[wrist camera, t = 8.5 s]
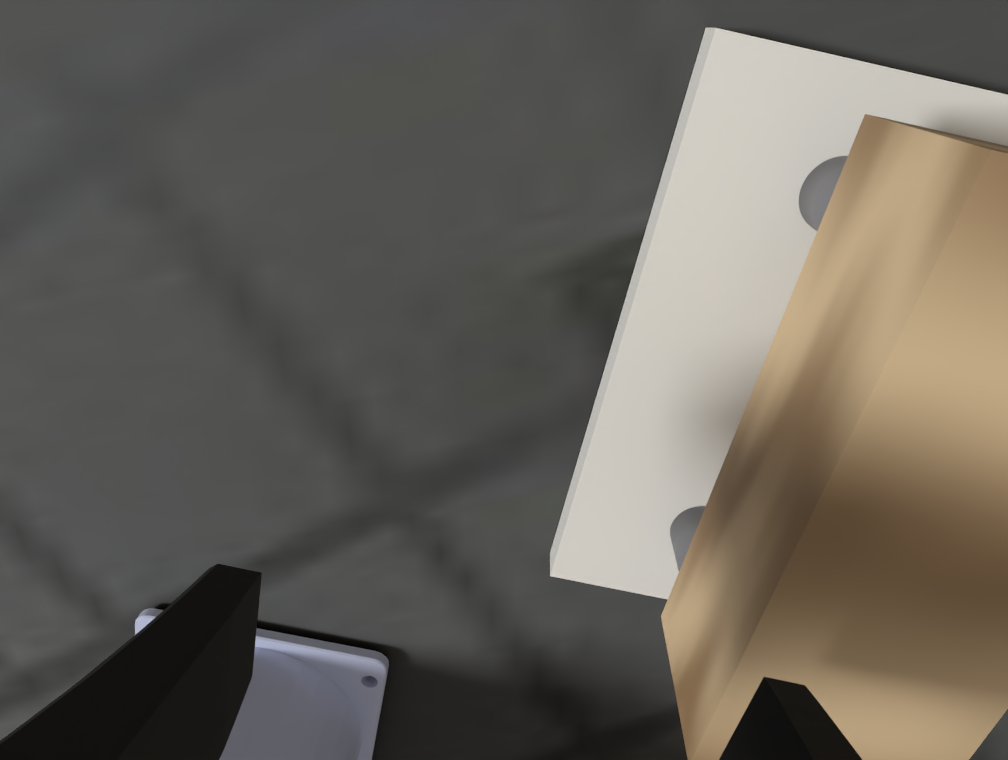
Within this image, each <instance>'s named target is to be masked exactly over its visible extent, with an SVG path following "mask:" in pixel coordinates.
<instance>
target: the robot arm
mask: <svg viewBox="0 0 1008 760" xmlns="http://www.w3.org/2000/svg"><path fill="white" fill-rule="evenodd" d="M261 574H262V573H260V572H255V571H250V570H245V569H241V568H236V567H231V566H226V565H221V564H217V565H215V566H213V567H211V568H209V569H208V570H207V571H206V572H205V573H204V574H203V575H202V576H201V577H200V578H199V579H197V580H196V581H195V582H194V583H193V584H192V585H191V586H190V587H189V588H188V589H187V590H186V591H184V592H183V593H182V594H181V595H180V596H179V597H178V598H177V599H176V600H175V601H173V602H172V603H171V604H170V605H169V606H168V607H167V608H166V609H164V610H160V609H153V608H149V609H145V610H143V611H142V612H141V613H140V615H139V616H138V618H137V619H136V622H135V636H133V637H132V638H131V639H130V640H129V641H127V642H126V643H125V644H124V645H123V646H121V647H120V648H119V649H118V650H117V651H115V652H114V653H113V654H112V655H110V656H109V657H108V658H107V659H106V660H104V661H103V662H102V663H101V664H100V665H98V666H97V667H96V668H95V669H93V670H92V671H91V672H90V673H89V674H87V675H86V676H85V677H84V678H82V679H81V680H80V681H79V682H77V683H76V684H75V685H74V686H72V687H71V688H70V689H69V690H67V691H66V692H65V693H63V694H62V695H61V696H59V697H58V698H57V699H55V700H54V701H53V702H51V703H50V704H49V705H47V706H46V707H45V708H43V709H42V710H41V711H39V712H38V713H37V714H35V715H34V716H33V717H31V718H30V719H29V720H27V721H26V722H25V723H24V724H22V725H21V726H20V727H18V728H17V729H16V730H14V731H13V732H12V733H10V734H9V735H8V736H6V737H5V738H4V739H2V740H1V741H0V760H372V756H373V750H374V745H375V739H376V734H377V728H378V723H379V718H380V712H381V707H382V701H383V696H384V690H385V685H386V679H387V674H388V668H389V660H388V659H387V657H386V656H385V655H383V654H382V653H380V652H377V651H373V650H368V649H363V648H358V647H353V646H347V645H342V644H337V643H332V642H327V641H321V640H316V639H311V638H306V637H301V636H295V635H290V634H285V633H280V632H275V631H269V630H264V629H259V628H257V618H258V607H259V596H260V585H261ZM369 676H372V677H369ZM719 760H862V759H861V757H860V756H859V755H858V753H857V752H856V751H855V749H854V748H853V747H852V745H851V744H850V743H849V741H848V740H847V739H846V737H845V736H844V735H843V733H842V732H841V731H840V729H839V728H838V727H837V725H836V724H835V723H834V721H833V720H832V719H831V718H830V716H829V715H828V714H827V712H826V711H825V710H824V708H823V707H822V706H821V705H820V703H819V702H818V701H817V699H816V698H815V697H814V696H813V694H812V693H811V692H810V691H809V689H808V688H807V687H806V686H805V685H802V684H797V683H792V682H788V681H783V680H778V679H773V678H768V677H763V679H762V681H761V683H760V685H759V687H758V688H757V690H756V692H755V694H754V696H753V698H752V700H751V701H750V703H749V705H748V707H747V709H746V711H745V712H744V714H743V716H742V718H741V720H740V722H739V724H738V725H737V727H736V729H735V731H734V733H733V735H732V737H731V738H730V740H729V742H728V744H727V746H726V748H725V749H724V751H723V753H722V755H721V757H720V759H719Z"/></svg>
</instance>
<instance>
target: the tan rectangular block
mask: <svg viewBox="0 0 1008 760" xmlns="http://www.w3.org/2000/svg"><path fill="white" fill-rule="evenodd" d="M661 619H662V624H663V630H664V635H665V640H666V646H667V651H668V656H669V662H670V667H671V673H672V678H673V683H674V689H675V694H676V699H677V705H678V710H679V715H680V721H681V726H682V732H683V737H684V742H685V748H686V753H687V758H688V760H719V759H720V757H721V755H722V753H723V751H724V749H725V748H726V746H727V744H728V742H729V740H730V738H731V737H732V735H733V733H734V731H735V729H736V727H737V725H738V724H739V722H740V720H741V718H742V716H743V714H744V712H745V711H746V709H747V707H748V705H749V703H750V701H751V700H752V698H753V696H754V694H755V692H756V690H757V688H758V687H759V685H760V683H761V681H762V679H763V677H768V678H773V679H778V680H783V681H788V682H792V683H797V684H802V685H805V686H806V687H807V688H808V689H809V691H810V692H811V693H812V694H813V696H814V697H815V698H816V699H817V701H818V702H819V703H820V705H821V706H822V707H823V708H824V710H825V711H826V712H827V714H828V715H829V716H830V718H831V719H832V720H833V721H834V723H835V724H836V725H837V727H838V728H839V729H840V731H841V732H842V733H843V735H844V736H845V737H846V739H847V740H848V741H849V743H850V744H851V745H852V747H853V748H854V749H855V751H856V752H857V753H858V755H859V756H860V757H861V759H862V760H969V759H970V758H971V756H972V755H973V754H974V752H975V751H976V750H977V748H978V747H979V746H980V744H981V743H982V742H983V740H984V739H985V738H986V736H987V735H988V734H989V733H990V731H991V730H992V729H993V727H994V726H995V725H996V723H997V722H998V721H999V719H1000V718H1001V717H1002V715H1003V714H1004V713H1005V712H1006V710H1007V709H1008V146H1005V145H1001V144H996V143H992V142H987V141H983V140H979V139H974V138H970V137H965V136H961V135H956V134H952V133H948V132H943V131H939V130H934V129H930V128H925V127H921V126H917V125H912V124H908V123H903V122H899V121H894V120H890V119H886V118H881V117H877V116H872V115H868V114H865V115H864V118H863V120H862V123H861V125H860V127H859V130H858V132H857V135H856V137H855V140H854V142H853V145H852V147H851V150H850V152H849V155H848V157H847V159H846V162H845V164H844V167H843V169H842V172H841V174H840V177H839V179H838V182H837V184H836V187H835V189H834V191H833V194H832V196H831V199H830V201H829V204H828V206H827V209H826V211H825V214H824V216H823V219H822V221H821V224H820V226H819V228H818V231H817V233H816V236H815V238H814V241H813V243H812V246H811V248H810V251H809V253H808V256H807V258H806V260H805V263H804V265H803V268H802V270H801V273H800V275H799V278H798V280H797V283H796V285H795V288H794V290H793V292H792V295H791V297H790V300H789V302H788V305H787V307H786V310H785V312H784V315H783V317H782V320H781V322H780V324H779V327H778V329H777V332H776V334H775V337H774V339H773V342H772V344H771V347H770V349H769V352H768V354H767V356H766V359H765V361H764V364H763V366H762V369H761V371H760V374H759V376H758V379H757V381H756V384H755V386H754V389H753V391H752V393H751V396H750V398H749V401H748V403H747V406H746V408H745V411H744V413H743V416H742V418H741V421H740V423H739V425H738V428H737V430H736V433H735V435H734V438H733V440H732V443H731V445H730V448H729V450H728V453H727V455H726V457H725V460H724V462H723V465H722V467H721V470H720V472H719V475H718V477H717V480H716V482H715V485H714V487H713V489H712V492H711V494H710V497H709V499H708V502H707V504H706V507H705V509H704V512H703V514H702V517H701V519H700V521H699V524H698V526H697V529H696V531H695V534H694V536H693V539H692V541H691V544H690V546H689V549H688V551H687V554H686V556H685V558H684V561H683V563H682V566H681V568H680V571H679V573H678V576H677V578H676V581H675V583H674V586H673V588H672V590H671V593H670V595H669V598H668V600H667V603H666V605H665V608H664V610H663V613H662V615H661Z"/></svg>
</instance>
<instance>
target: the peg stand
mask: <svg viewBox="0 0 1008 760" xmlns="http://www.w3.org/2000/svg"><path fill="white" fill-rule="evenodd" d="M865 114H868V115H872V116H877V117H881V118H886V119H890V120H894V121H899V122H903V123H908V124H912V125H917V126H921V127H925V128H930V129H934V130H939V131H943V132H948V133H952V134H956V135H961V136H965V137H970V138H974V139H979V140H983V141H987V142H992V143H996V144H1001V145H1005V146H1008V95H1007V94H1002V93H998V92H993V91H989V90H985V89H980V88H976V87H972V86H967V85H963V84H959V83H954V82H950V81H946V80H941V79H937V78H932V77H928V76H924V75H919V74H915V73H911V72H906V71H902V70H898V69H893V68H889V67H884V66H880V65H876V64H871V63H867V62H863V61H858V60H854V59H850V58H845V57H841V56H837V55H832V54H828V53H823V52H819V51H815V50H810V49H806V48H802V47H797V46H793V45H789V44H784V43H780V42H775V41H771V40H767V39H762V38H758V37H754V36H749V35H745V34H741V33H736V32H732V31H727V30H723V29H719V28H706V29H705V32H704V35H703V39H702V42H701V45H700V49H699V52H698V56H697V59H696V62H695V66H694V69H693V72H692V76H691V79H690V83H689V86H688V89H687V93H686V96H685V99H684V103H683V106H682V110H681V113H680V116H679V120H678V123H677V126H676V130H675V133H674V137H673V140H672V143H671V147H670V150H669V153H668V157H667V160H666V164H665V167H664V170H663V174H662V177H661V180H660V184H659V187H658V191H657V194H656V197H655V201H654V204H653V207H652V211H651V214H650V217H649V221H648V224H647V228H646V231H645V234H644V238H643V241H642V244H641V248H640V251H639V255H638V258H637V261H636V265H635V268H634V271H633V275H632V278H631V282H630V285H629V288H628V292H627V295H626V298H625V302H624V305H623V309H622V312H621V315H620V319H619V322H618V325H617V329H616V332H615V336H614V339H613V342H612V346H611V349H610V352H609V356H608V359H607V363H606V366H605V369H604V373H603V376H602V379H601V383H600V386H599V390H598V393H597V396H596V400H595V403H594V406H593V410H592V413H591V417H590V420H589V423H588V427H587V430H586V433H585V437H584V440H583V444H582V447H581V450H580V454H579V457H578V460H577V464H576V467H575V471H574V474H573V477H572V481H571V484H570V487H569V491H568V494H567V498H566V501H565V504H564V508H563V511H562V514H561V518H560V521H559V524H558V528H557V531H556V535H555V538H554V541H553V545H552V548H551V551H550V576H552V577H557V578H562V579H568V580H573V581H578V582H583V583H588V584H593V585H598V586H603V587H608V588H613V589H618V590H623V591H628V592H633V593H638V594H643V595H648V596H653V597H658V598H663V599H668V598H669V595H670V593H671V590H672V588H673V586H674V583H675V581H676V578H677V576H678V573H679V571H680V568H681V566H682V563H683V561H684V558H685V556H686V554H687V551H688V549H689V546H690V544H691V541H692V539H693V536H694V534H695V531H696V529H697V526H698V524H699V521H700V519H701V517H702V514H703V512H704V509H705V507H706V504H707V502H708V499H709V497H710V494H711V492H712V489H713V487H714V485H715V482H716V480H717V477H718V475H719V472H720V470H721V467H722V465H723V462H724V460H725V457H726V455H727V453H728V450H729V448H730V445H731V443H732V440H733V438H734V435H735V433H736V430H737V428H738V425H739V423H740V421H741V418H742V416H743V413H744V411H745V408H746V406H747V403H748V401H749V398H750V396H751V393H752V391H753V389H754V386H755V384H756V381H757V379H758V376H759V374H760V371H761V369H762V366H763V364H764V361H765V359H766V356H767V354H768V352H769V349H770V347H771V344H772V342H773V339H774V337H775V334H776V332H777V329H778V327H779V324H780V322H781V320H782V317H783V315H784V312H785V310H786V307H787V305H788V302H789V300H790V297H791V295H792V292H793V290H794V288H795V285H796V283H797V280H798V278H799V275H800V273H801V270H802V268H803V265H804V263H805V260H806V258H807V256H808V253H809V251H810V248H811V246H812V243H813V241H814V238H815V236H816V233H817V231H818V228H819V226H820V224H821V221H822V219H823V216H824V214H825V211H826V209H827V206H828V204H829V201H830V199H831V196H832V194H833V191H834V189H835V187H836V184H837V182H838V179H839V177H840V174H841V172H842V169H843V167H844V164H845V162H846V159H847V157H848V155H849V152H850V150H851V147H852V145H853V142H854V140H855V137H856V135H857V132H858V130H859V127H860V125H861V123H862V120H863V118H864V115H865Z"/></svg>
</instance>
